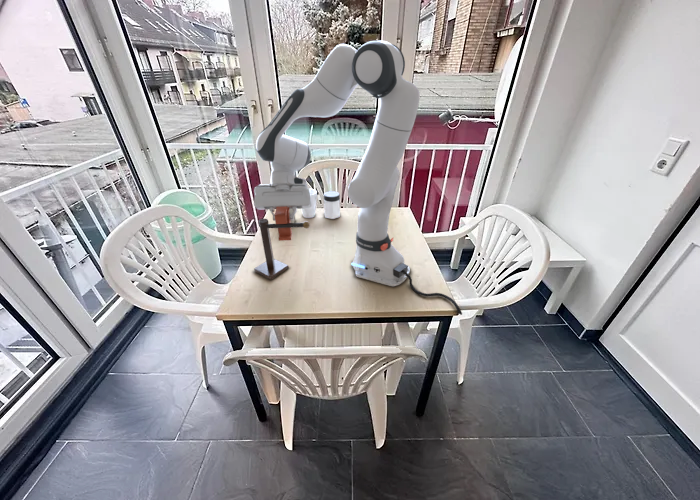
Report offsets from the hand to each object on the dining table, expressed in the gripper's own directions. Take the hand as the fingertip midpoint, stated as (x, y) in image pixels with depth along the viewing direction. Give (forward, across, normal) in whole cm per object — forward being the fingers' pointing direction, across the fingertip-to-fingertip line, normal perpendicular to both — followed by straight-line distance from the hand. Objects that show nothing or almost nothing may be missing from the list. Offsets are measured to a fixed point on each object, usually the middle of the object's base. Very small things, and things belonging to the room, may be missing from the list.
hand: (283, 219), depth 102 cm
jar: (-17, +19, +45) cm, 52 cm away
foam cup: (-17, +7, +46) cm, 49 cm away
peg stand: (+16, -2, +12) cm, 20 cm away
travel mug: (-13, -4, +41) cm, 43 cm away
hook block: (+6, 0, +4) cm, 7 cm away
